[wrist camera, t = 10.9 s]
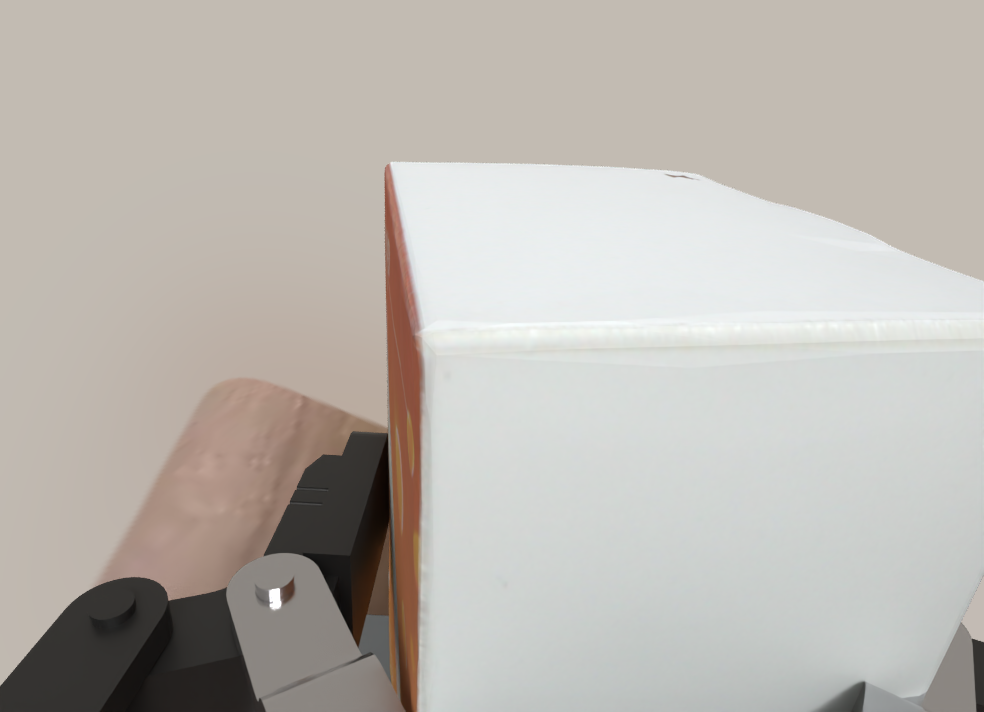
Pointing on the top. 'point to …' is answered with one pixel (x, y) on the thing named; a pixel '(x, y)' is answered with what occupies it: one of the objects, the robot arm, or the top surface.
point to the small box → (669, 447)
